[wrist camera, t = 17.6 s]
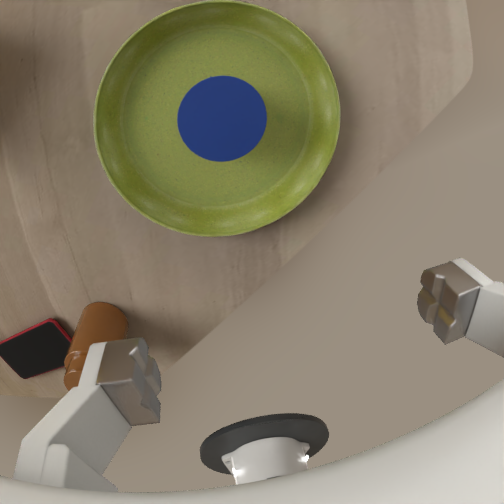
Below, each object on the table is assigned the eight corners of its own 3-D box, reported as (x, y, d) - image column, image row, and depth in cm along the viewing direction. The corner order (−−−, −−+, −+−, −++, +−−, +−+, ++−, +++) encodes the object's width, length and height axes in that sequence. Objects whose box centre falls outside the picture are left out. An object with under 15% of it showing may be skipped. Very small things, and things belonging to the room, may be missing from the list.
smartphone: (-9, 347, 32) (51, 318, 32) (-6, 343, 33) (53, 314, 32) (23, 380, 36) (87, 359, 35) (25, 376, 37) (88, 354, 36)
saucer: (148, 249, 31) (144, 265, 28) (78, 55, 21) (65, 52, 18) (343, 190, 31) (357, 200, 29) (298, -7, 21) (310, -17, 18)
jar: (136, 334, 36) (127, 401, 27) (96, 344, 36) (80, 407, 27) (114, 296, 33) (95, 363, 24) (72, 308, 33) (47, 371, 24)
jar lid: (169, 89, 22) (166, 89, 19) (249, 68, 22) (255, 65, 20) (191, 165, 25) (191, 172, 23) (268, 144, 25) (275, 149, 23)
